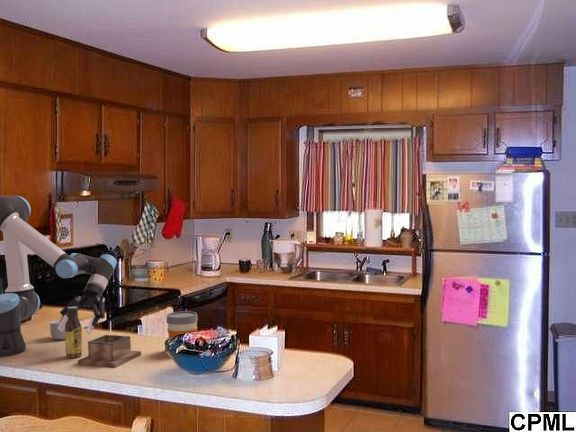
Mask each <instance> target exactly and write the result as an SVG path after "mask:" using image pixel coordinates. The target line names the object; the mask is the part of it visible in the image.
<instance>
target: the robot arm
mask: <svg viewBox="0 0 576 432" xmlns="http://www.w3.org/2000/svg"><path fill="white" fill-rule="evenodd" d="M31 212H32V209H31V205H30V203H29V202H28V200H27V199H26V198H24V197H23V196H20V195H12V194H11V195H0V231H1V232H2V236H3V245H4V247H3V249H4V256H5V258H4V259H5V265H6V276H7V277H6V278H7V287H6V289H4V293H2V294H0V357H8V356H13V355H18V354H21V353H24V352H26V350H27V344H26V342H25V340H24V337H23V334H22V331H21V330H22V329H21V321H24V320H27V319H30V318H31V317H32V316H34V315H36V313H37V312H38V311H39V308H40V305H41V300H40V296H39V295H38V293H36V292H35V287H34V286H33V285H32V284H31V282H30V274H29V263H28V255H27V248H28V250H30V251H32V252H33V253H34V254H35V255H37V256H38V257H39V258H41V259H42V260H43V261H45V262H46V263H47V264H48V265H50V266H51V267H52V268H54V269H55V272H56V275H57V276H58V277H60V278H62V279H70V278H74V277H75V276H78V275H81V274H87V275H89V276H90V278H89V279H88V281H87V283H86V285H85V288H84V289H83V292H82V294H81V296H79V295H78V294H76V295H75V296H74V297H73V299H72V300H71V301H69V303H68V304H67V305H66V306H65V307H64V308H62V309H61V310H60V312H59V313H60V315H62V316H61V319H59V320H60V325H59V327H58V330H59V331H60V332H63V330H64V328H65V324H66V322H67V320H68V311H67V308H68V307H74V306H76V307H78V311H80V309H81V310H82V309H83V308H91V309H92V312H93V314H94V315H92V317H91V319H90V321H89V323H88V325H87V326H86V330H85V331H86V333H88V335H91V334H92V332H93V330H94V328H95V327H96V326H97V325H98V322H99V321H100V320H101V319H102V320H103V319H105V318H106V317H105V316H106V315H105V314H106V312H105V309H106V308H105V303H106V298H105V297H104V296H103V294H104V291H105V290H106V287H107V286H108V283H109V281H110V279H111V277H112V275H113V273H114V271H115V269H116V267H117V263H118V261H117V259H116V258H115V257H114V256H113V255H111V254H109V253H108V254H107V253H105V254H102V255H101V256H99V257H92V256H89V255H86V254H82V253H76V252H73V253H70V255H69V254H68V253H66V252H65V251H64V250H63V249H61V248H60V247H59V246H58V245H56V244H55V243H53V242H52V241H51V240H50V239H49V238H47V237H45V235H43V234H42V233H41V232H39V231H38V230H36V229H35V228H34V227H33V226H32V225H30V224H29V223H28V219H29V217H30V215H31ZM97 303H98V307H97Z"/></svg>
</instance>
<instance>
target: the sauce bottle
mask: <svg viewBox="0 0 576 432" xmlns="http://www.w3.org/2000/svg"><path fill="white" fill-rule="evenodd" d="M67 311H68V320H67V322H66V324H65V339H64V341H65V343H64V344H65V356H66V358H67V359H74V358H80V357H81V356H82V355H83V338H82V337H83V336H82V334H83V332H82V328H81V324H82V323H81V324H80V322H81V321H80V319H79V315H78V313H79V312H78V311H79V310H78V307H76V306H74V307H68V308H67Z"/></svg>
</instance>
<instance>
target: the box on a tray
mask: <svg viewBox="0 0 576 432" xmlns="http://www.w3.org/2000/svg"><path fill="white" fill-rule="evenodd" d="M131 345H132V344H131V336H129V335H117V334H116V335H115V334H105V335H101V336H99V337H97V338H95V339H94V338H93V339H91V340H89V341H87V352H88V355H87V356H84V357H82V358H79V359H78V360H77V365H85V366H94V367H95V366H96V367H107V368H118V367H119V366H122V365H124V364H126V363H127V362H130V361H132V360H134V359H136V358H138V357H141V356H142V351H140V350H132V346H131Z"/></svg>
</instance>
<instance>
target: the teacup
mask: <svg viewBox="0 0 576 432" xmlns="http://www.w3.org/2000/svg"><path fill="white" fill-rule="evenodd" d="M60 320H61V319H58V320H53V321H50V322H49V328H50V329H49V330H50V335H51V337H52V338H53V339H55V340H65V328H64V330H63V332H60V331H59V330H58V327H59V325H60ZM80 324H81V328H82V327H83V325H82V322H81V321H80Z"/></svg>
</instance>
